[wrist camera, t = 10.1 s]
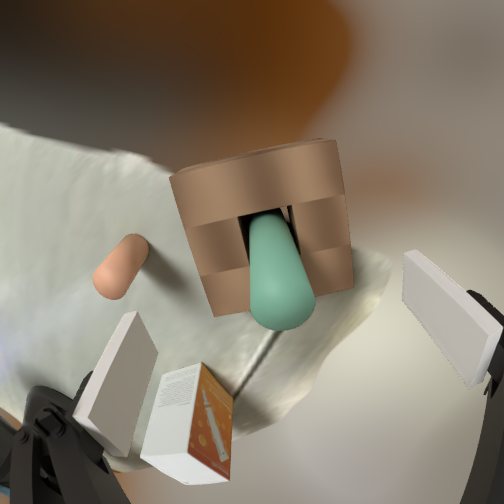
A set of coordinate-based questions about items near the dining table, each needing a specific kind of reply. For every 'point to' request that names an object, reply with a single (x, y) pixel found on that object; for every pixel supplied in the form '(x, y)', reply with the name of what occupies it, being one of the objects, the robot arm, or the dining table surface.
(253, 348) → the dining table surface
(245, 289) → the collar block
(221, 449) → the small box
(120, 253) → the short dowel
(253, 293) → the long dowel
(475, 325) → the robot arm
